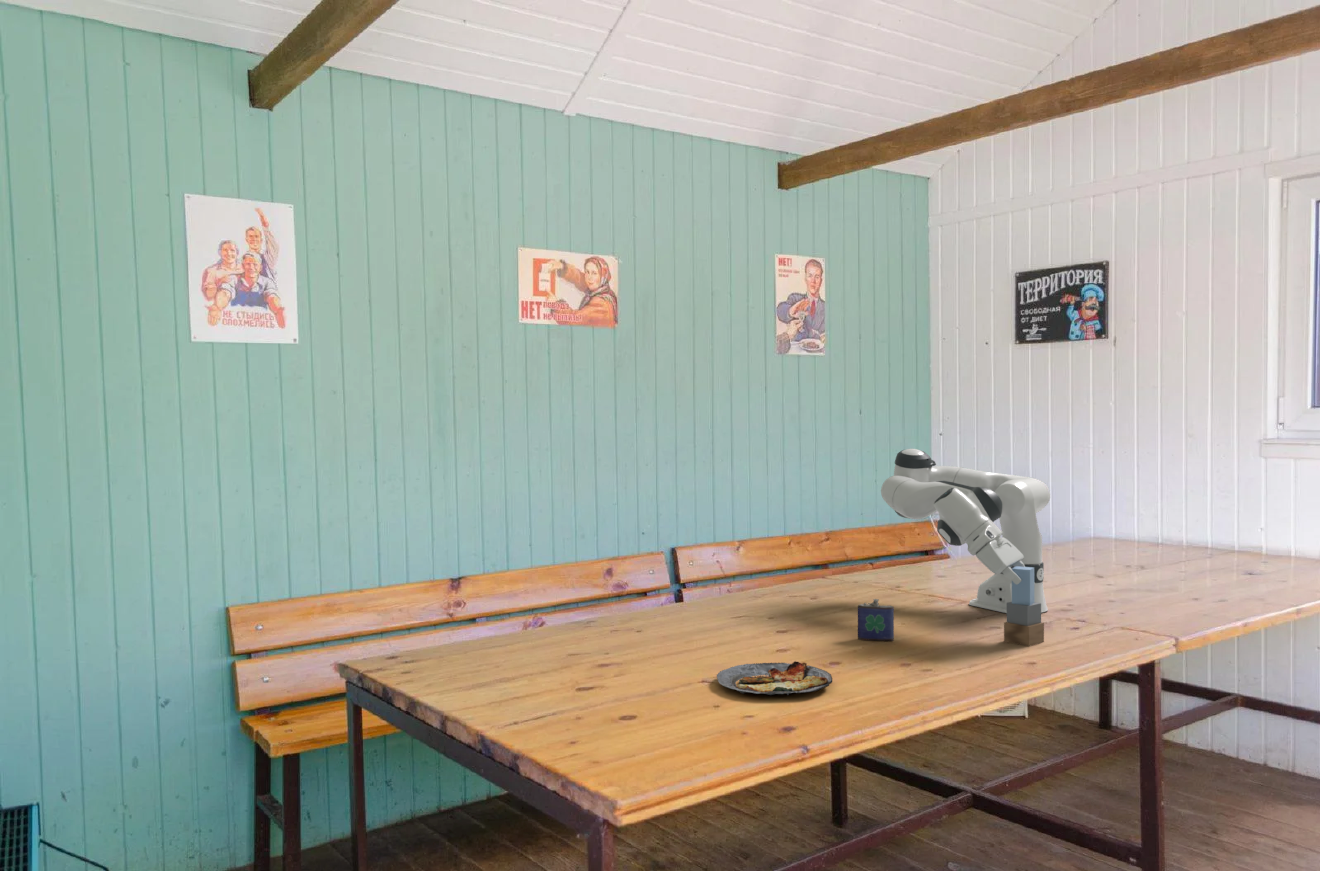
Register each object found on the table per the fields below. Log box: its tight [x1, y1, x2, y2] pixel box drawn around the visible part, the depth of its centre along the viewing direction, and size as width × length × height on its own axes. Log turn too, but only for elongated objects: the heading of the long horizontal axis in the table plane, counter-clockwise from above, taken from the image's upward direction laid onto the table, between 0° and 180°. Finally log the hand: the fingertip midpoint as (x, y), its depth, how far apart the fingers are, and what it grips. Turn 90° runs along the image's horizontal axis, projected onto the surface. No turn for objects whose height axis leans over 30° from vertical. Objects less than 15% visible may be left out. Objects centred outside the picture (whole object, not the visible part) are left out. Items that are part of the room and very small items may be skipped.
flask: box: [857, 598, 895, 642], centre depth 252 cm, size 9×3×11 cm, turn 74°
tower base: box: [1003, 621, 1045, 647], centre depth 249 cm, size 7×7×5 cm
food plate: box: [716, 660, 833, 696], centre depth 211 cm, size 25×23×4 cm
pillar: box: [1012, 566, 1034, 605], centre depth 249 cm, size 4×4×9 cm
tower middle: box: [1006, 602, 1042, 626], centre depth 249 cm, size 6×6×5 cm
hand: (1024, 579), depth 249 cm, fingers open, 8 cm apart
